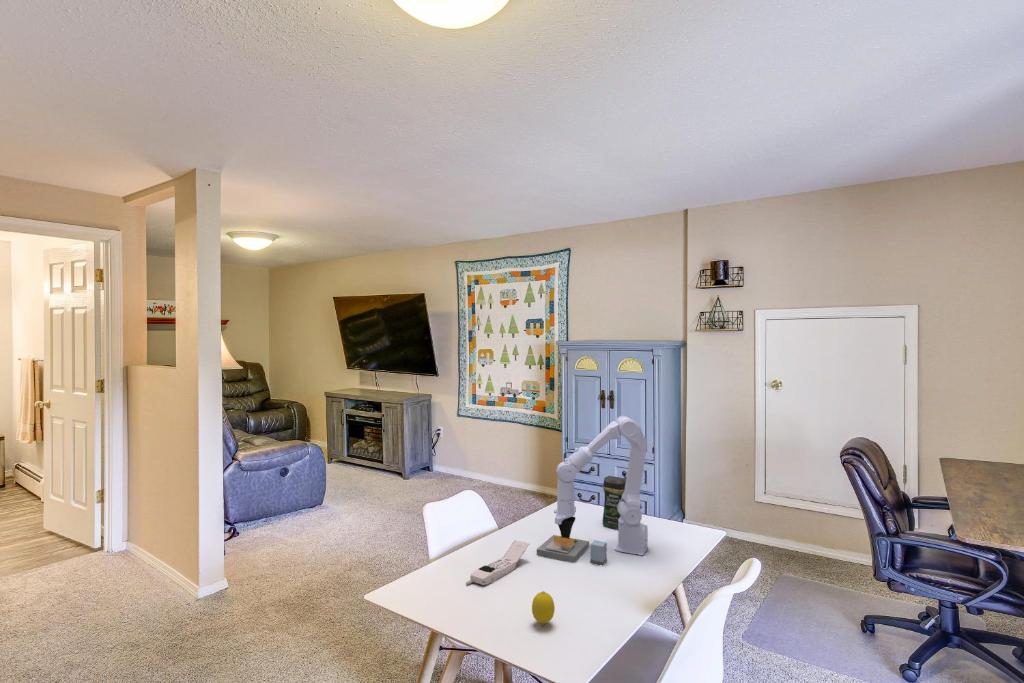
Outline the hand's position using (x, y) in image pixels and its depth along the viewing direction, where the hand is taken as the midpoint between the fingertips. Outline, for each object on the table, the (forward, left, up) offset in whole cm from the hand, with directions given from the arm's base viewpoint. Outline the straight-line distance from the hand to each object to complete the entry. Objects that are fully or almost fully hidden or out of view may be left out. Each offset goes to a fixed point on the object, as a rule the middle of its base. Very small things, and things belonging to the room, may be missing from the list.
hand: (565, 539), depth 178 cm
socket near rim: (-5, -1, -3) cm, 6 cm away
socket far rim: (+5, -1, -3) cm, 6 cm away
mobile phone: (+11, +26, -4) cm, 29 cm away
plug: (-13, +5, -3) cm, 14 cm away
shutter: (0, +5, -1) cm, 5 cm away
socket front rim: (0, -4, -3) cm, 5 cm away
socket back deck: (0, +6, -3) cm, 7 cm away
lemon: (-12, +47, -3) cm, 49 cm away
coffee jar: (-9, -30, -3) cm, 31 cm away
